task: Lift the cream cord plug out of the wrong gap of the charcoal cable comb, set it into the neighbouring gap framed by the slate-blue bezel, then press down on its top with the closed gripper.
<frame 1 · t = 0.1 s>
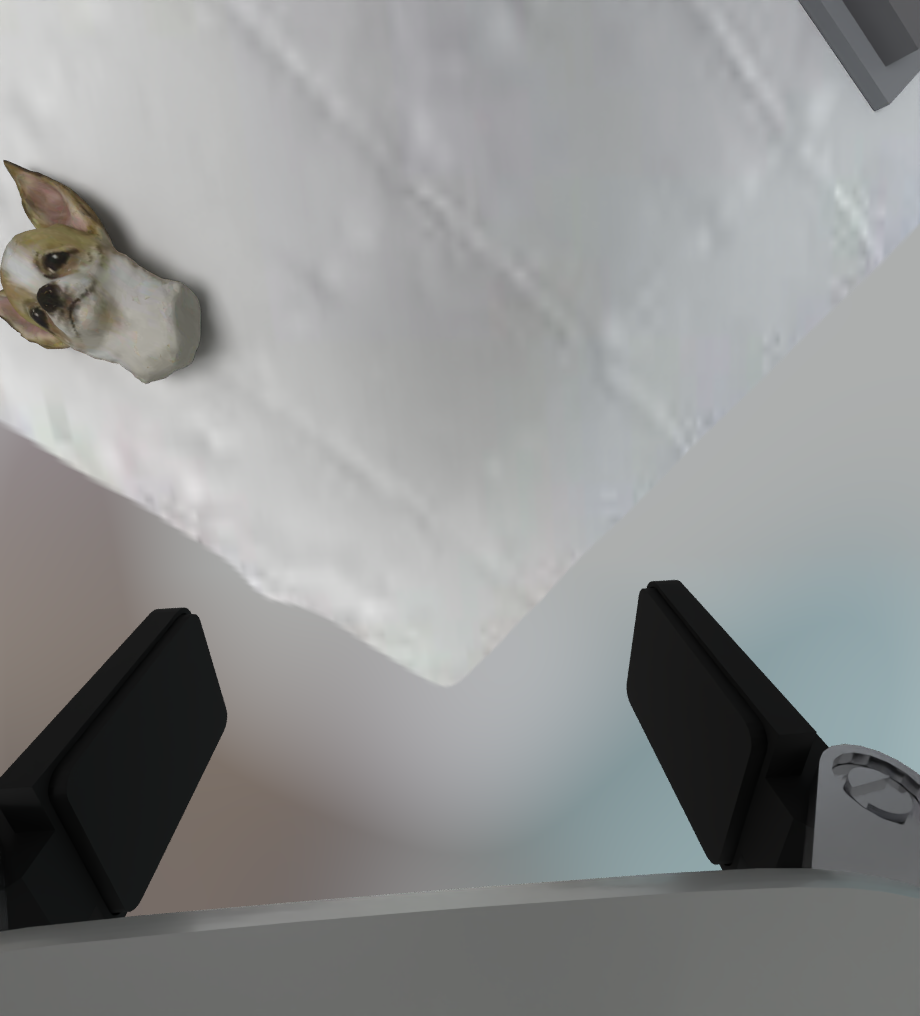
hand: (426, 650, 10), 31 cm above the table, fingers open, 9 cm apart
ceramic sculpture: (125, 297, 35), on the table
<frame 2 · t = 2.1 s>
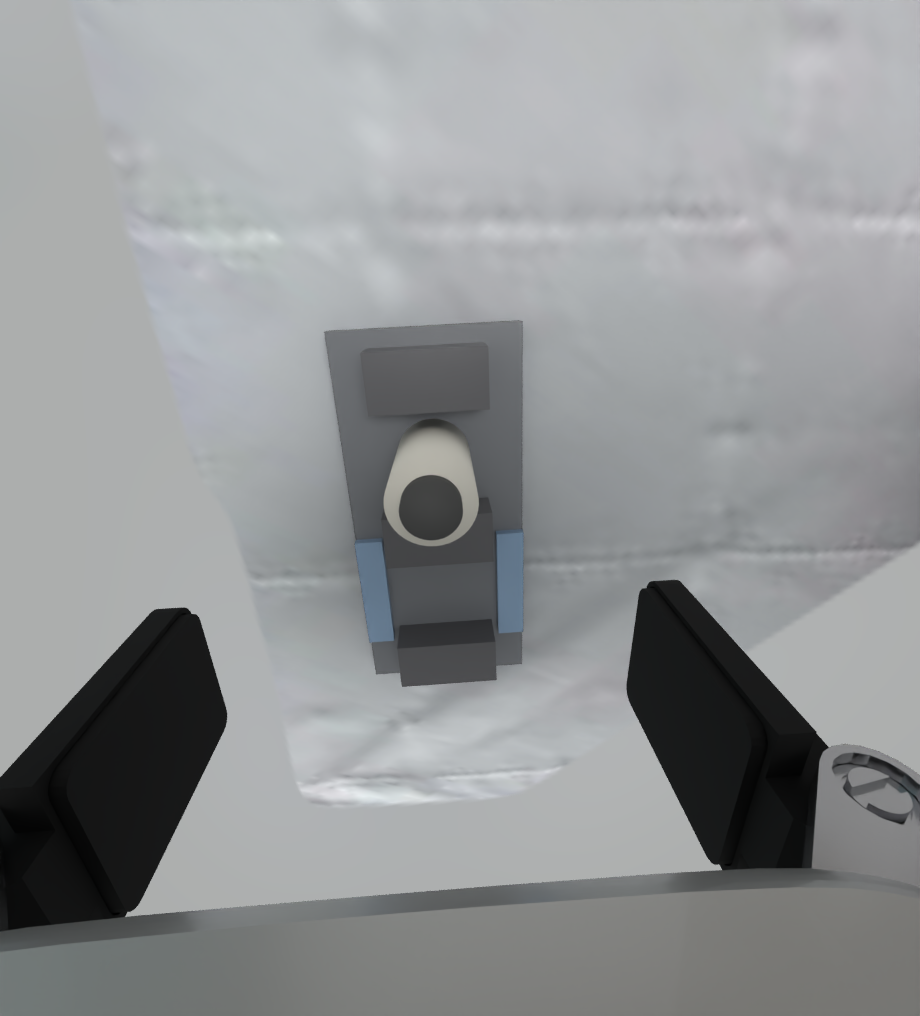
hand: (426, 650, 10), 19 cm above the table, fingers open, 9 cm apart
cord plug: (433, 454, 27), point 1 cm above the table, touching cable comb
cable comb: (438, 515, 29), on the table
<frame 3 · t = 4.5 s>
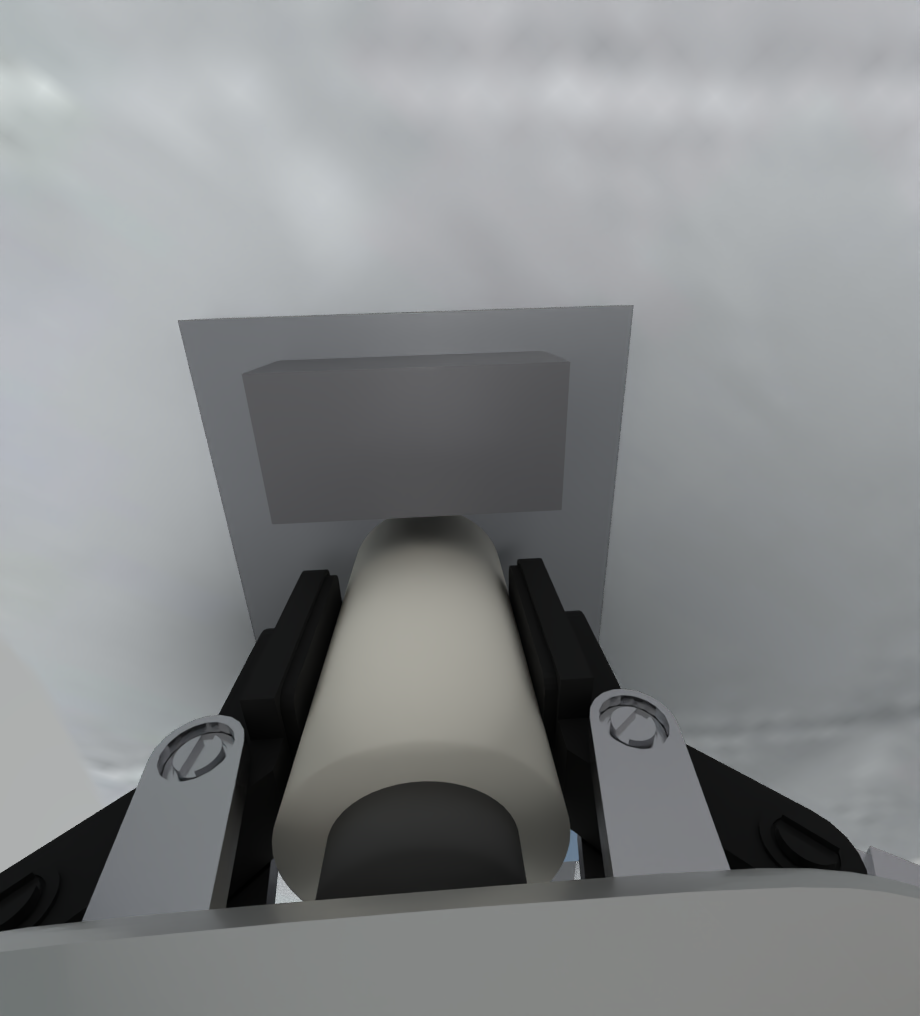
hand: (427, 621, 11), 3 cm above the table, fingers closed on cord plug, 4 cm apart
cord plug: (428, 575, 13), point 1 cm above the table, touching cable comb, gripper
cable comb: (434, 668, 16), on the table
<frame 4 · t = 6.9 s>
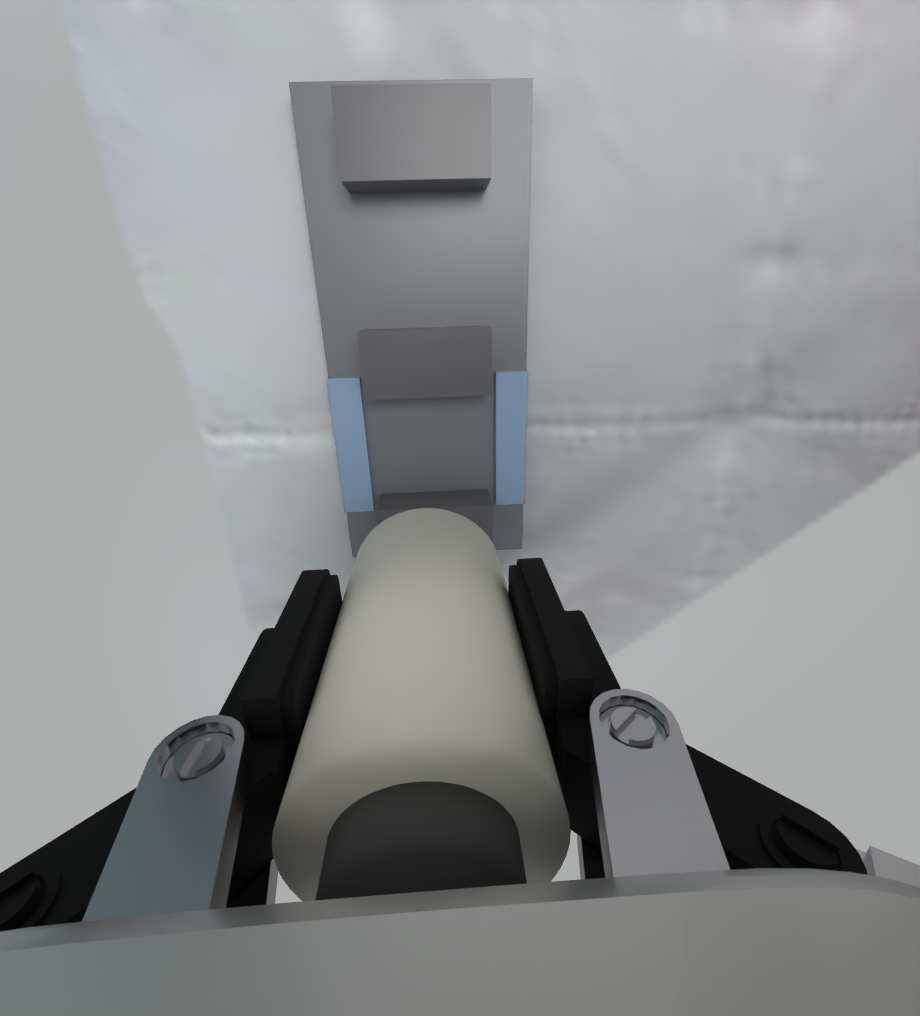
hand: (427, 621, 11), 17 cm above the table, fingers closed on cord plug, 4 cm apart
cord plug: (427, 575, 13), point 15 cm above the table, touching gripper
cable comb: (427, 356, 25), on the table
when the fingers open (5 cm above the table, at t = 9.3 s): cord plug drops 1 cm, resting on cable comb.
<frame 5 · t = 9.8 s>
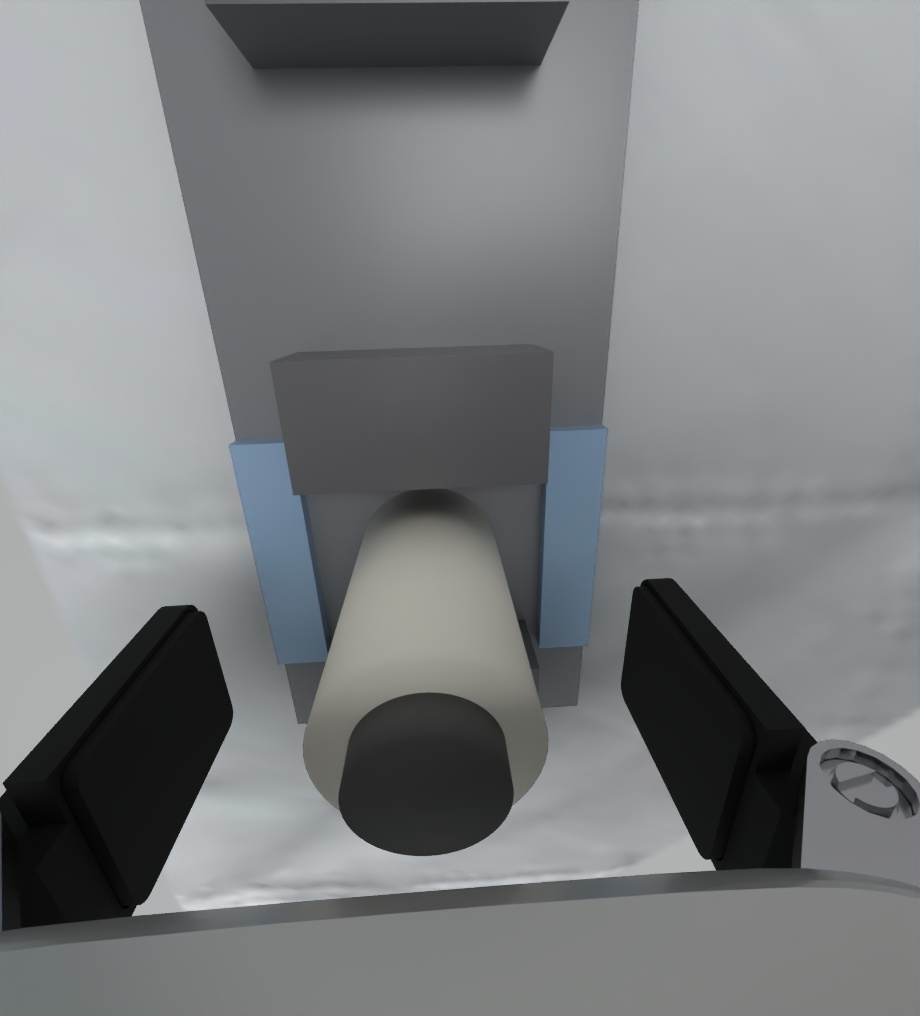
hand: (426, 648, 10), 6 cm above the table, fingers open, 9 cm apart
cord plug: (429, 549, 14), point 1 cm above the table, touching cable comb
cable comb: (420, 398, 14), on the table
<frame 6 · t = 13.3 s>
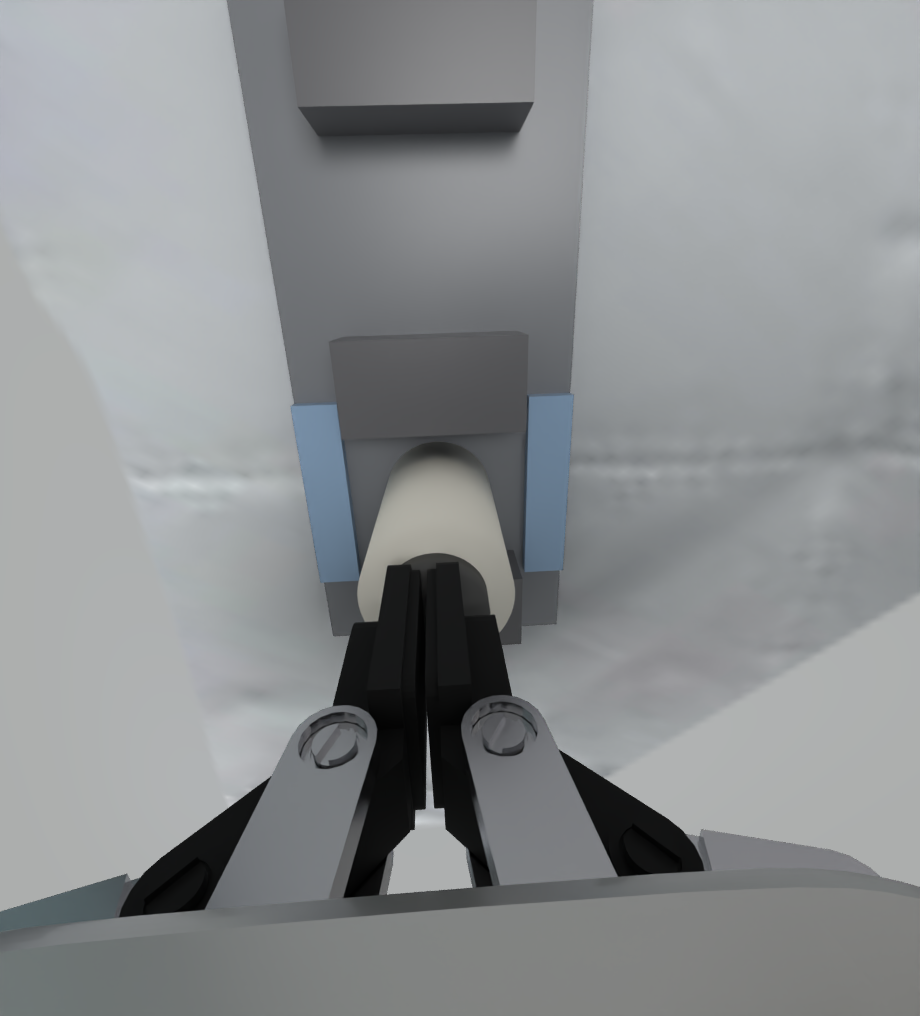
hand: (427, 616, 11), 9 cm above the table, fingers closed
cord plug: (438, 491, 19), point 1 cm above the table, touching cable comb, gripper
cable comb: (432, 373, 18), on the table
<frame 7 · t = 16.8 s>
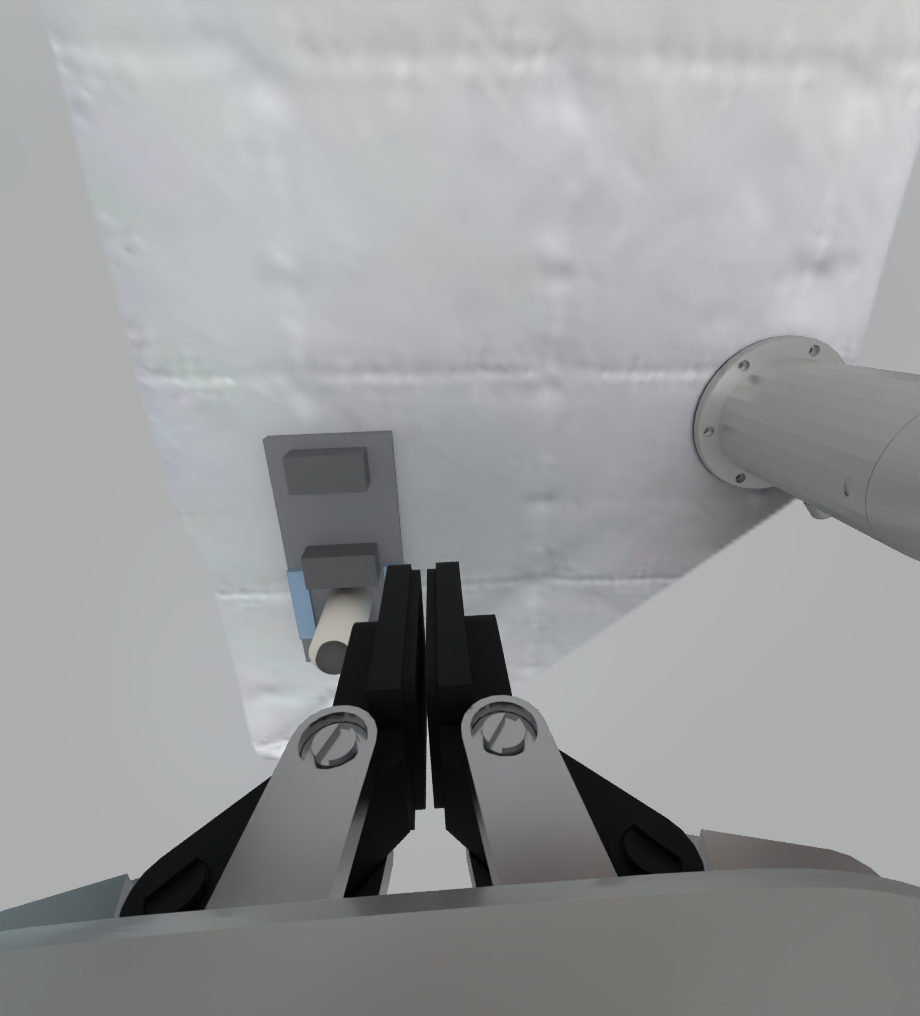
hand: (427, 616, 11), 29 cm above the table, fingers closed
cord plug: (350, 600, 44), point 1 cm above the table, touching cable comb
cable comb: (346, 552, 43), on the table
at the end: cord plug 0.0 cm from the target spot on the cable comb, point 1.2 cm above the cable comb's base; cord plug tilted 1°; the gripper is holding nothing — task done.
